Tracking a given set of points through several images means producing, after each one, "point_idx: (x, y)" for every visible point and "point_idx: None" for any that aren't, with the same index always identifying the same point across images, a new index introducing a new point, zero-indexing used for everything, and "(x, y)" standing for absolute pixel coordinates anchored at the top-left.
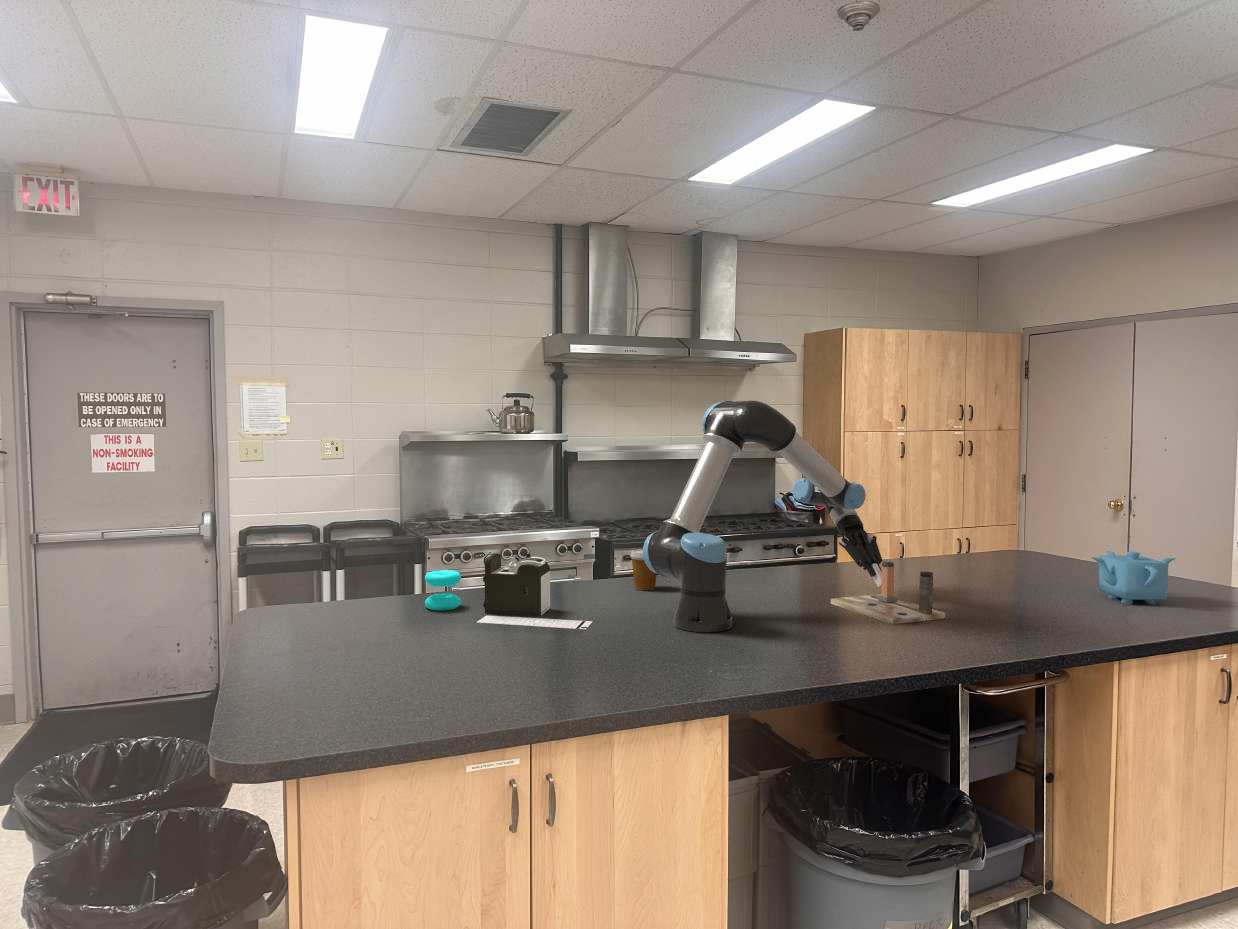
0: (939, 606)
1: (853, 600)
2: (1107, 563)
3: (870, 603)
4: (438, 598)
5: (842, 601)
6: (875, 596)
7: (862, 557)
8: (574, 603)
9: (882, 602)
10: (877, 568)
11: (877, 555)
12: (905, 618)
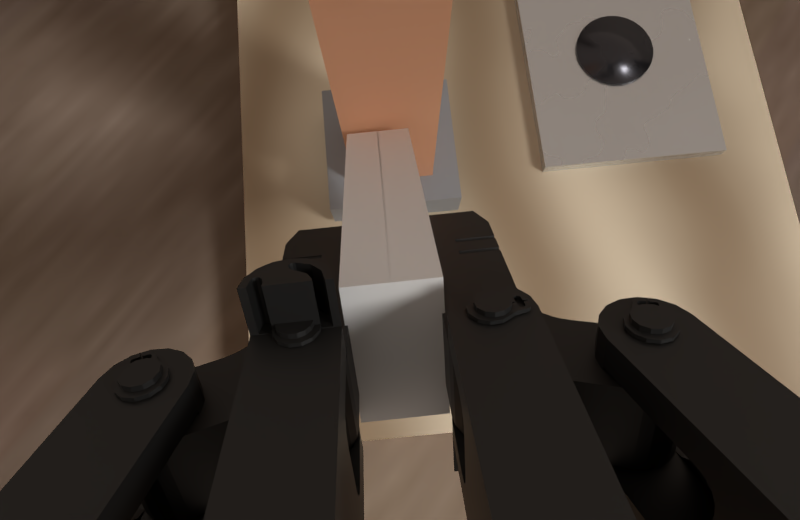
0: (2, 87)
1: (664, 267)
2: None
3: (615, 71)
4: None
5: (783, 257)
6: None
7: (688, 396)
8: None
9: (454, 138)
10: (381, 226)
11: (114, 491)
12: None
